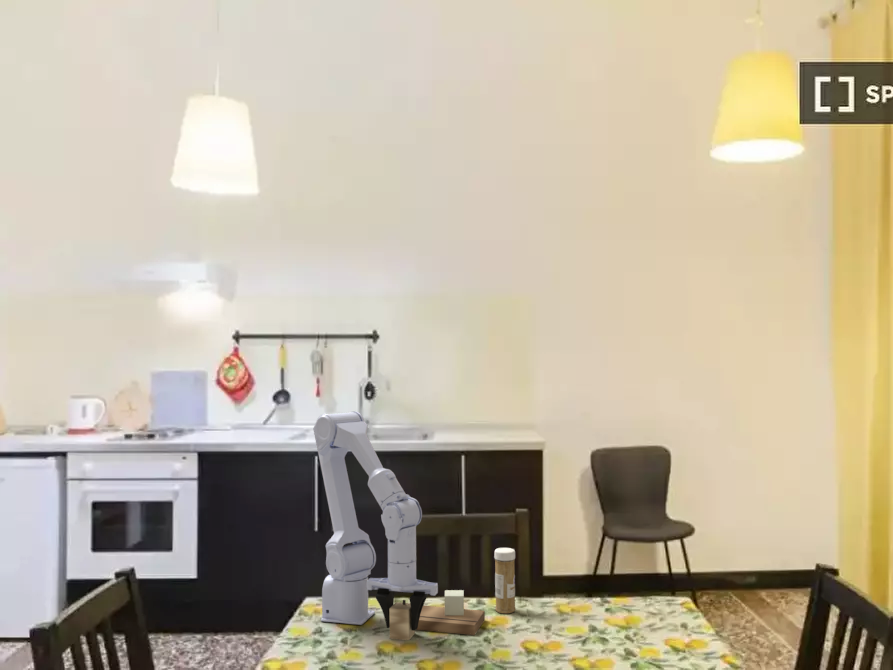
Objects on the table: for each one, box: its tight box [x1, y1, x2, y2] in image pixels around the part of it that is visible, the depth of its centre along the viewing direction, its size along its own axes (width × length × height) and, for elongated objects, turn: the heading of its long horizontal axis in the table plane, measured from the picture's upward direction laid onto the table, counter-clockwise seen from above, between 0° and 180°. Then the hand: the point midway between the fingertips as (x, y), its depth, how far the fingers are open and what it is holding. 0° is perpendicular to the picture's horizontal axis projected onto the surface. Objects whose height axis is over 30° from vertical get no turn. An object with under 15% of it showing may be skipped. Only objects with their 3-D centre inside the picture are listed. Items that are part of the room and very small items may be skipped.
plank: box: [415, 605, 486, 636], centre depth 167 cm, size 16×9×2 cm, turn 74°
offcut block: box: [444, 589, 465, 615], centre depth 168 cm, size 4×4×4 cm
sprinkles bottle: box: [493, 547, 516, 615], centre depth 175 cm, size 5×5×14 cm
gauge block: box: [389, 599, 416, 641], centre depth 160 cm, size 4×4×7 cm
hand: (402, 627), depth 160 cm, fingers open, 5 cm apart
